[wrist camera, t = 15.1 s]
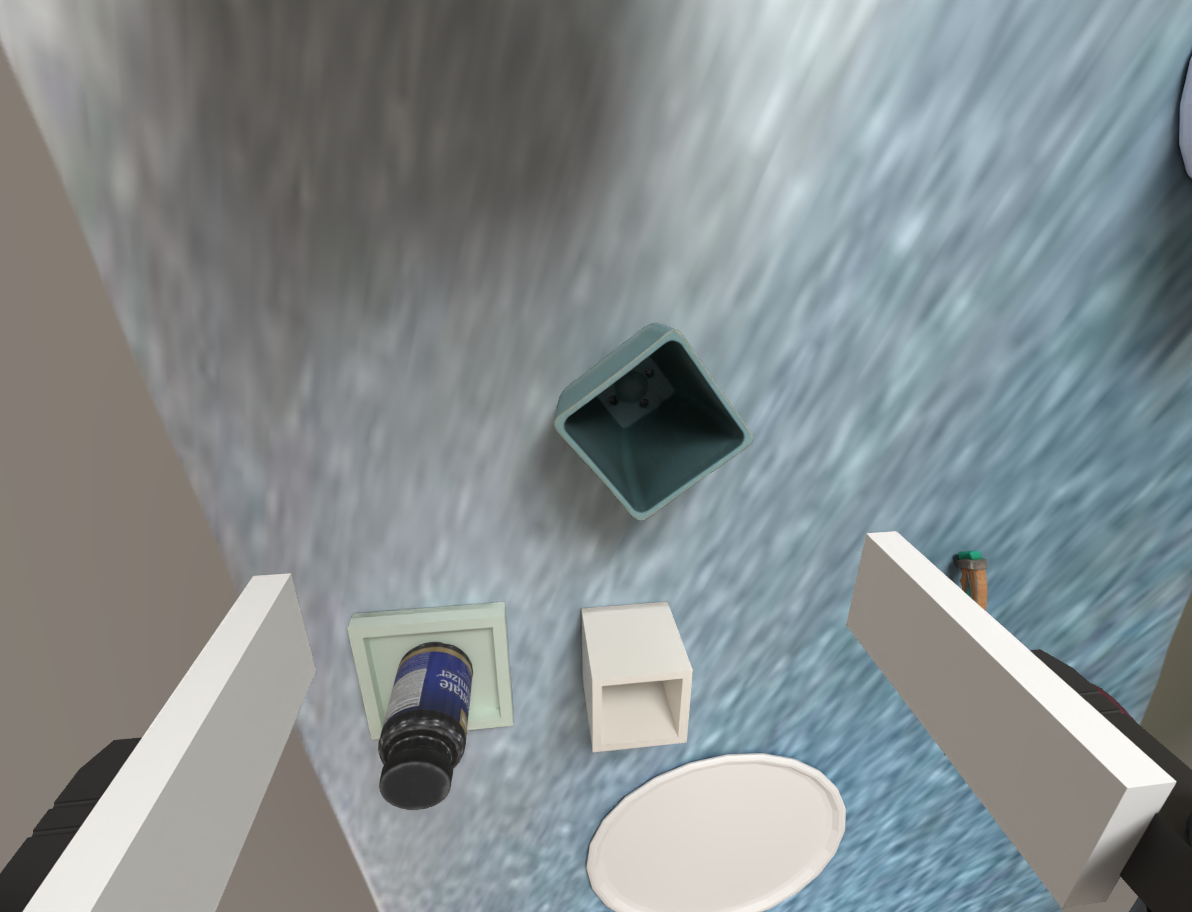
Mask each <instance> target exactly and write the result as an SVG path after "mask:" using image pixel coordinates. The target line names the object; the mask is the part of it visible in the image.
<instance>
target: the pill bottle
mask: <svg viewBox="0 0 1192 912" xmlns="http://www.w3.org/2000/svg"><path fill="white" fill-rule="evenodd" d="M472 677H473V668H472V663H471V661H470V659H469V658H468V656H467V655H466V654H465V653H464V652H463V651H462V650H461V649H460V648H458V647H456V646H454V645H450V644H445V643H442V642H428V643H424V644H421V645H419V646H417V647H415V648H413V649H411V650H410V651H408V652H407V653H406V654H405V655H404V656H403V658H402V659H401V662H400V664H399V667H398V670H397V674H396V678H395V682H394V686H393V689H392V693H391V697H390V701H389V705H388V708H387V713H386V716H385V720H384V724H383V728H382V731H381V736H380V740H379V747H378V749H379V750H378V751H379V755H380V758H381V761H382V763H383V764H384V766H383V769H382V773H381V778H380V785H379V787H380V792H381V794H382V796H383V798H384V799H385V800H386V801H388V802H389V803H390V804H392V805H394V806H396V807H399V808H403V809H407V810H419V809H426V808H429V807H432V806H434V805H437V804H438V803H440V802H441V801H442V800H444V799H445V797H446V796H447V794H448V793H449V791H450V787H451V781H452V775H453V769H454V767H455V766H456V765H457V764H458V763H459V762H460V760H461V758H462V756H463V754H464V750H465V745H466V734H467V725H468V716H469V706H470V696H471V686H472Z"/></svg>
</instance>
